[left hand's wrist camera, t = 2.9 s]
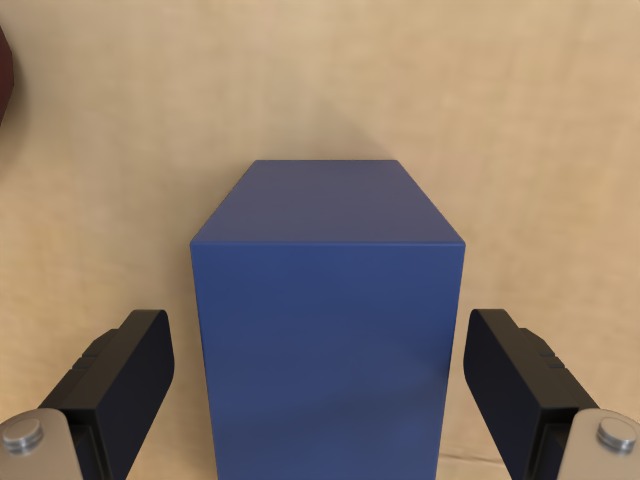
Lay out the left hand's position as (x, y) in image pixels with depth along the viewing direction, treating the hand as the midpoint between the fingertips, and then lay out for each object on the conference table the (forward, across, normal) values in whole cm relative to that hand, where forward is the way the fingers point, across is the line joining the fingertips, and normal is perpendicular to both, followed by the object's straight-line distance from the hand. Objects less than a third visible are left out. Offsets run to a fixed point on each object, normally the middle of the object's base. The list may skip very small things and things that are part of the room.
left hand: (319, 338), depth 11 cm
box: (+8, 0, -7) cm, 11 cm away
